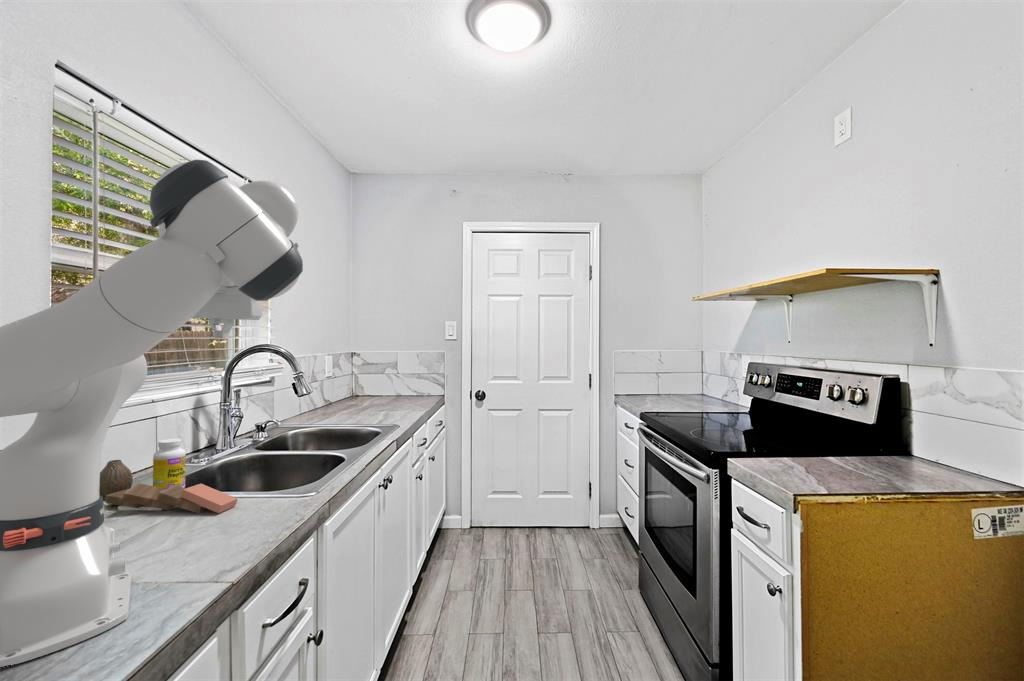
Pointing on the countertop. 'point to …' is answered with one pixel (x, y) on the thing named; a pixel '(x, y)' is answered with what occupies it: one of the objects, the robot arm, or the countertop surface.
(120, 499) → the tile
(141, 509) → the tile
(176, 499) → the tile
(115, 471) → the vase
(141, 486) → the tile
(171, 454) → the supplement bottle
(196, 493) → the end tile
